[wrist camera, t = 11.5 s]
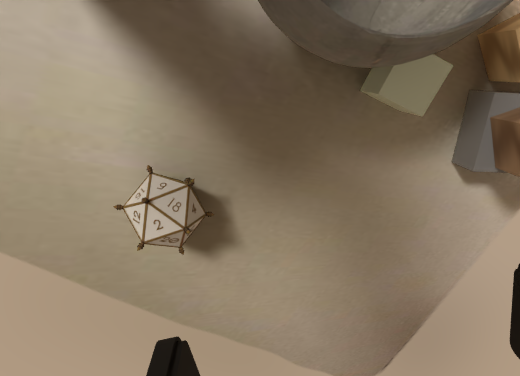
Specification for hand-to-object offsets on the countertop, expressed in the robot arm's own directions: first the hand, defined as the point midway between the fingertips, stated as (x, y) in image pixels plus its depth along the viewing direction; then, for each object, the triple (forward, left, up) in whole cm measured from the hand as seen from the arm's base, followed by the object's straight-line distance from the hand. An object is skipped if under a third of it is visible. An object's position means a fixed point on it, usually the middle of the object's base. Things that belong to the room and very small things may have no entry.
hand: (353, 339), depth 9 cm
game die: (+4, -12, -28) cm, 31 cm away
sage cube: (-3, +14, -28) cm, 32 cm away
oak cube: (-4, +26, -28) cm, 39 cm away
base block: (+5, +25, -29) cm, 38 cm away
